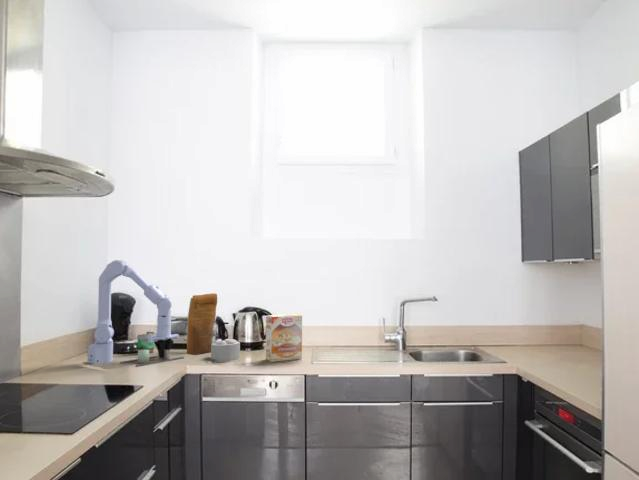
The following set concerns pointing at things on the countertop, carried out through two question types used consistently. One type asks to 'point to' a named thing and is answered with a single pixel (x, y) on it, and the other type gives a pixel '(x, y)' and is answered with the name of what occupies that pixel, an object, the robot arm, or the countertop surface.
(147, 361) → the tapered cylinder
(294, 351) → the coffeecake box
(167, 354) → the brown piece
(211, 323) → the pancake mix bag
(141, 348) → the food container
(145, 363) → the track
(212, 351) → the lumpy-topped squat cylinder
